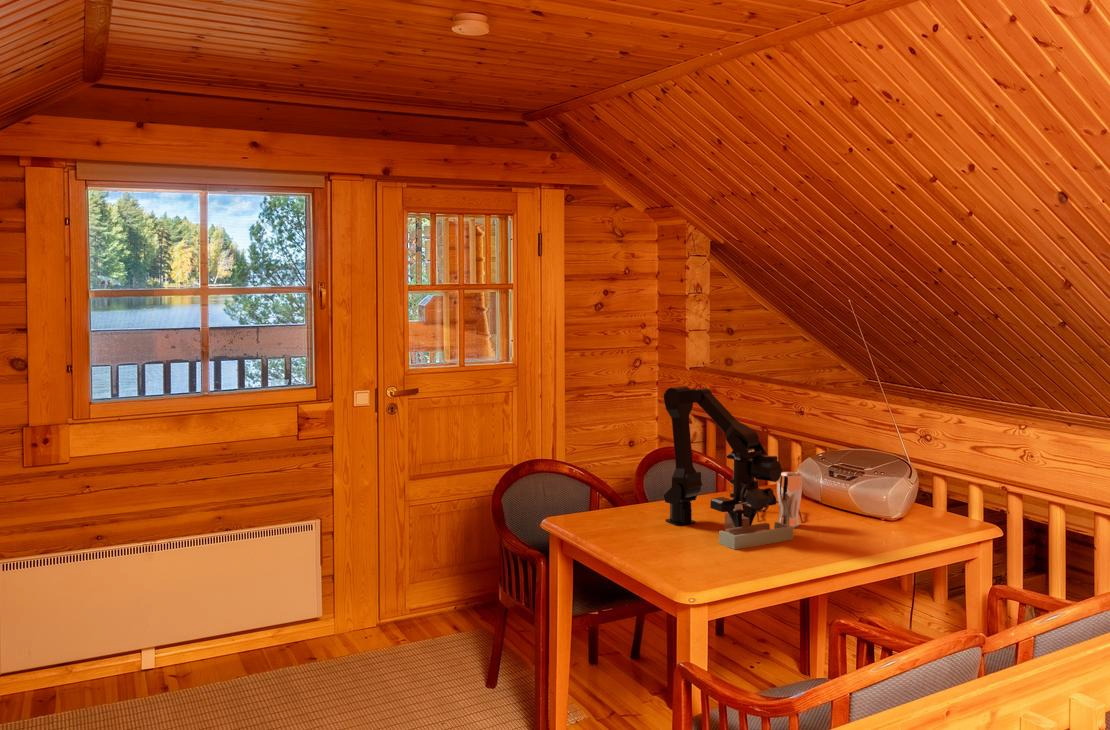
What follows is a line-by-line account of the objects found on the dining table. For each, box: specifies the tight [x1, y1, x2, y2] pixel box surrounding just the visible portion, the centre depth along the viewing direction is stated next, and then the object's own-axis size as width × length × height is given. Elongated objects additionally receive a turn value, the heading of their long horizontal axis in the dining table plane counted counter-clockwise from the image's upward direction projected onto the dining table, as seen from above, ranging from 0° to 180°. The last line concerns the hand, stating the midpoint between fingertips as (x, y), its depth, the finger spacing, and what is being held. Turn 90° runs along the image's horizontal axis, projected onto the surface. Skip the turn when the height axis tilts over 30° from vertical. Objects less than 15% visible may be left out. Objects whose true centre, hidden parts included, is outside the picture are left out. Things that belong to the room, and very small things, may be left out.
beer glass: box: [776, 471, 803, 529], centre depth 284 cm, size 7×7×15 cm
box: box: [718, 521, 794, 551], centre depth 268 cm, size 6×20×4 cm, turn 118°
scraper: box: [724, 512, 771, 535], centre depth 275 cm, size 9×14×5 cm, turn 118°
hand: (743, 532), depth 273 cm, fingers closed on scraper, 2 cm apart
